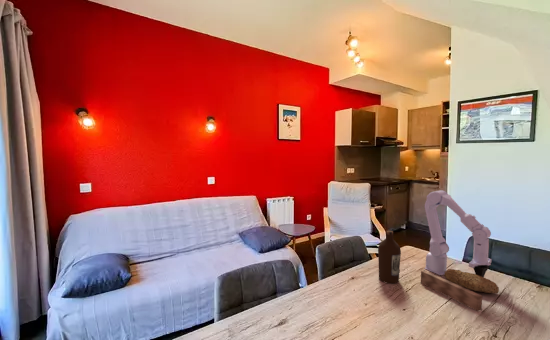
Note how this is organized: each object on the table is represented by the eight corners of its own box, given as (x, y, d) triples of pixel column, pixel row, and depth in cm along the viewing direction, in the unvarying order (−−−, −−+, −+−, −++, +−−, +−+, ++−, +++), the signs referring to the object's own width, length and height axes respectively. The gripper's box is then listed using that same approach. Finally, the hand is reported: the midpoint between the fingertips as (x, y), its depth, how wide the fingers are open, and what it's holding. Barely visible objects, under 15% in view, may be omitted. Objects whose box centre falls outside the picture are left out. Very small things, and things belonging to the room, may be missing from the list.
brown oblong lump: (442, 283, 134) (483, 295, 115) (441, 267, 136) (482, 276, 117) (461, 284, 138) (504, 296, 119) (461, 268, 139) (503, 277, 120)
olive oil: (373, 278, 137) (374, 230, 136) (385, 272, 143) (386, 227, 141) (392, 286, 128) (393, 235, 127) (404, 280, 134) (405, 232, 133)
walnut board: (420, 282, 132) (421, 271, 132) (424, 281, 133) (424, 270, 133) (477, 311, 108) (478, 297, 108) (481, 309, 109) (482, 295, 109)
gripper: (480, 257, 122) (479, 285, 123) (499, 252, 128) (497, 279, 129) (464, 252, 128) (463, 279, 129) (482, 247, 134) (481, 273, 135)
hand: (479, 279), depth 129 cm, fingers closed
